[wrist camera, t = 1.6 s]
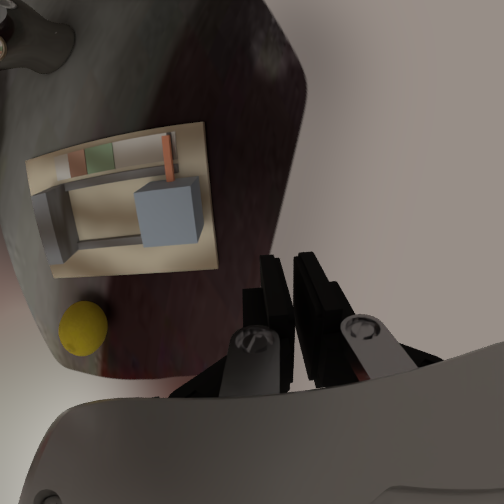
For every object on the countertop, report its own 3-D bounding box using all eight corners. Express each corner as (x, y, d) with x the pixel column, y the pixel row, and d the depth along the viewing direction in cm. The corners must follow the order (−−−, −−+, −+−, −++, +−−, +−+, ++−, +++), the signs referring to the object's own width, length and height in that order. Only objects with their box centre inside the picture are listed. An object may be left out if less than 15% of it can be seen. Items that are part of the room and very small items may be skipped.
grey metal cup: (55, 87, 21) (-52, 84, 8) (21, 67, 19) (-76, 63, 6) (90, 29, 19) (-3, -13, 5) (52, 14, 17) (-36, -18, 4)
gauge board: (31, 159, 24) (2, 168, 19) (204, 122, 24) (196, 120, 20) (58, 273, 30) (37, 295, 25) (218, 263, 30) (215, 289, 25)
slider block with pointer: (144, 138, 23) (126, 142, 19) (194, 131, 23) (185, 132, 19) (157, 228, 27) (143, 247, 23) (204, 224, 27) (197, 243, 23)
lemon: (69, 295, 31) (39, 334, 24) (100, 283, 31) (70, 324, 23) (93, 329, 33) (69, 372, 26) (124, 320, 33) (102, 365, 25)
